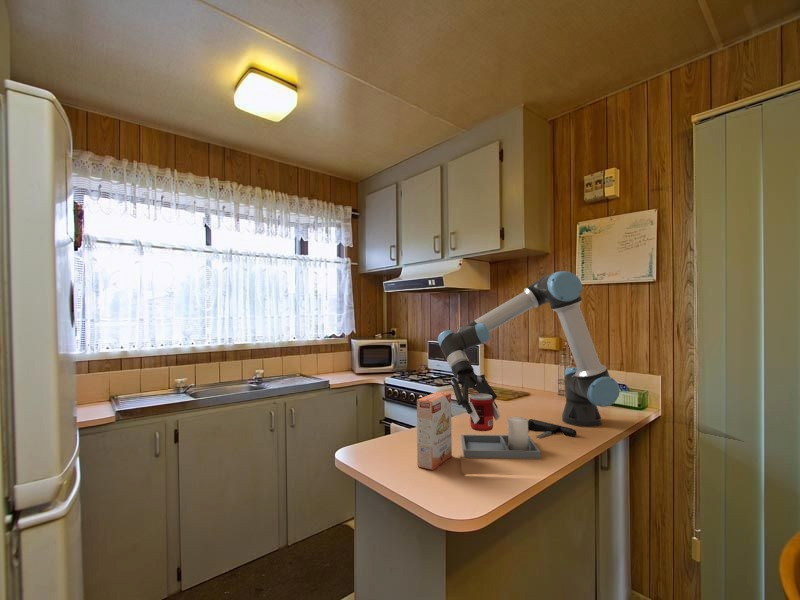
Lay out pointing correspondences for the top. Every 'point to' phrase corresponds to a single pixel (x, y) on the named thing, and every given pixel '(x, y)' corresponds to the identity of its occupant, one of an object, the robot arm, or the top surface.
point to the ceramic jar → (518, 434)
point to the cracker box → (434, 430)
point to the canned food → (482, 411)
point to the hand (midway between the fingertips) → (487, 419)
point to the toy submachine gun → (548, 428)
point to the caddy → (495, 447)
